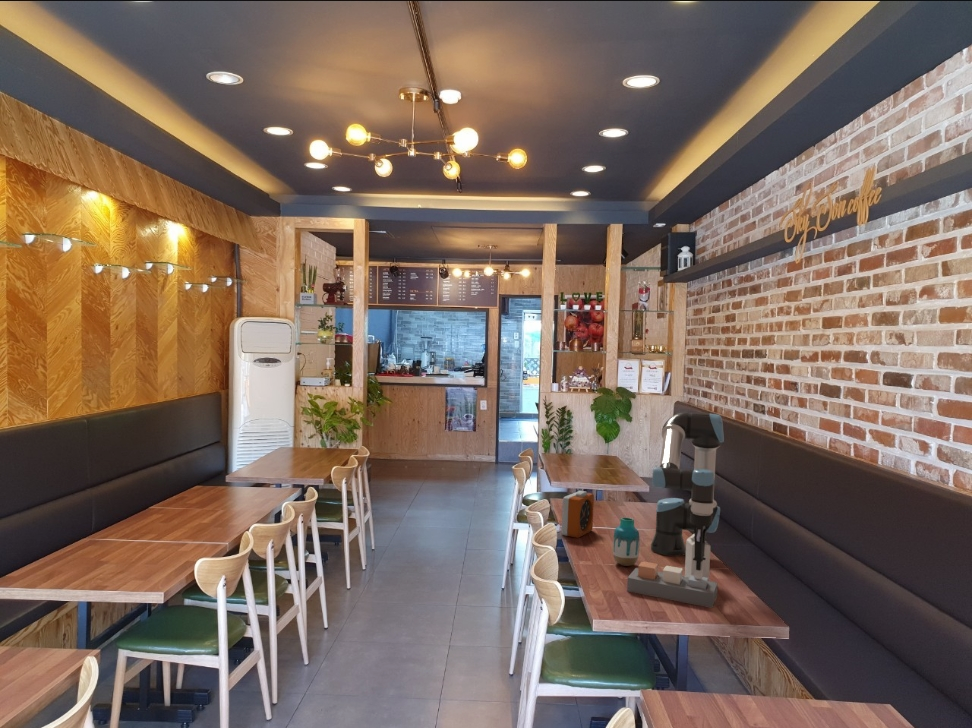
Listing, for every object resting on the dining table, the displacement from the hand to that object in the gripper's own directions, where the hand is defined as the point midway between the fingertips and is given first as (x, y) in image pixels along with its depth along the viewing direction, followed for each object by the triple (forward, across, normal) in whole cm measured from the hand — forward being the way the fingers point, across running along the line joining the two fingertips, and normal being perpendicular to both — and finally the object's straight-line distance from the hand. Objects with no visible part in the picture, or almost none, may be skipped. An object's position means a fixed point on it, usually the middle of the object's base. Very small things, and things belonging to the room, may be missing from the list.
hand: (698, 578), depth 237 cm
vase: (+8, -24, -32) cm, 41 cm away
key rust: (+4, 0, -18) cm, 18 cm away
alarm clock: (+7, -59, -64) cm, 87 cm away
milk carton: (+8, -20, -3) cm, 21 cm away
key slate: (+6, 0, 0) cm, 6 cm away
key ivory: (+4, 0, -9) cm, 10 cm away
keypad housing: (+7, 0, -9) cm, 12 cm away
